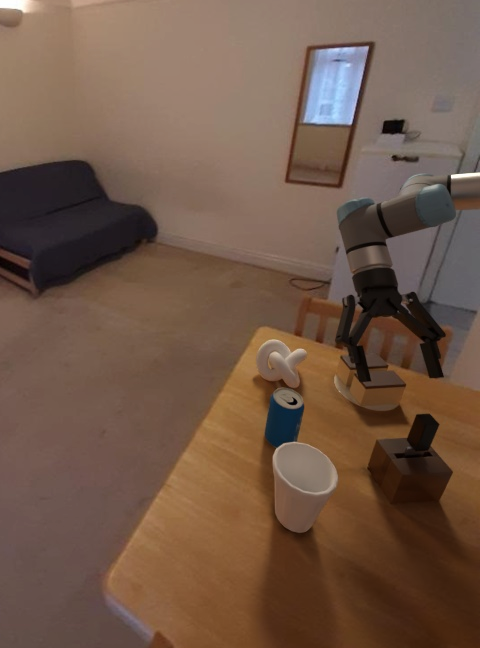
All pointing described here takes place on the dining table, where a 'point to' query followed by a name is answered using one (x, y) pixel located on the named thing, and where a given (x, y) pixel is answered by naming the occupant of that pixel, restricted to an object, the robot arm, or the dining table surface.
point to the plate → (347, 395)
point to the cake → (371, 382)
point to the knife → (421, 435)
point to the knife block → (408, 472)
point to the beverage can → (284, 417)
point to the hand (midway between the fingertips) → (401, 380)
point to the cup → (301, 484)
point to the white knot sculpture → (279, 362)
